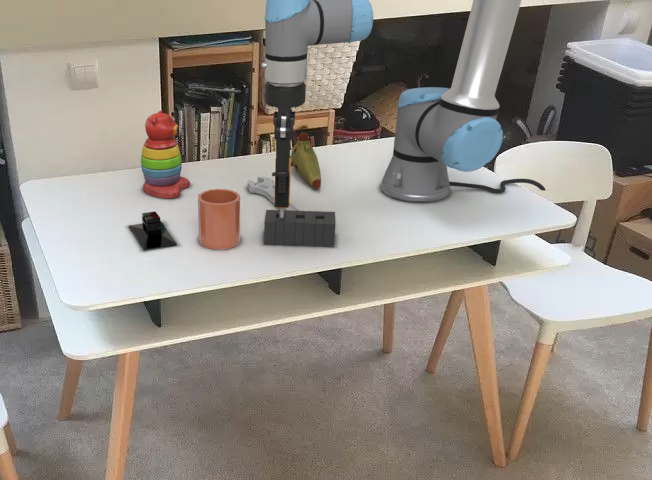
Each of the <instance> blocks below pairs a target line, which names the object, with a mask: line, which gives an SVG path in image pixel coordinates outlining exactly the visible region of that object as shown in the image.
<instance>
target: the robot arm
mask: <svg viewBox="0 0 652 480" xmlns="http://www.w3.org/2000/svg"><path fill="white" fill-rule="evenodd" d="M521 4H522V0H472V4H471V7H470V12H469V16H468V19H467V24H466V29H465V31H464V35H463V39H462V43H461V48H460V52H459V55H458V59H457V64H456V67H455V71H454V74H453V79H452V83H451V87H439V86H438V87H437V86H432V87H429V86H428V87H415V88H409V89H406V90H404V91H402V92H401V94H400V96H399V98H398V104H397V107H396V110H397V114H396V122H395V133H394V141H393V151H392V157H391V158H390V161H389V163H388V166H387V168H386V170H385V172H384V174H383V176H382V179H381V184H380V185H381V186H380V189H381V192H383V194H385V195H386V196H387V197H390V198H392V199H395V200H399V201H402V202H408V203H432V202H438V201H441V200H443V199H445V198H447V197H448V195H449V193H450V187H459V188H469V189H477V190H478V189H479V190H484V191H486V192H490V193H493V194H501V193H504V192H505V191H506V185H510V184H530V185H533V186H535V187H537V188H538V189H539V191H546V188H545V186H544V185H543V184H542V183H540V182H538V181H536V180H534V179H530V178H511V179H504V180H501V182H500V183H499V187H500V188H495V187H491V186H488V185H484V184H478V183H468V182H457V181H450V179H449V173H448V168H450V169H454V170H456V171H459V172H461V173H468V172H469V173H470V172H474V171H477V170H480V169H482V168H483V167H485V165H486V164H489V163H490V162H491V161H492V160H493V159H494V158H495V157H496V155H498V152H499V151H500V149H501V147H502V143H503V138H504V131H503V129H502V126H501V124H500V122H499V121H497V117H498V114H499V110H500V103H499V101H498V100H497V98H496V92H497V88H498V84H499V81H500V77H501V74H502V72H503V71H502V70H503V67H504V63H505V61H506V56H507V53H508V50H509V46H510V43H511V39H512V35H513V32H514V28H515V25H516V21H517V17H518V14H519V11H520V7H521ZM373 10H374V9H373V6H372V4H371V2H370V0H266V1H265V13H264V21H265V22H264V26H265V27H264V29H265V31H264V32H265V33H264V34H265V35H264V36H265V39H264V41H265V42H264V43H265V48H264V49H265V51H264V52H265V53H264V55H265V56H264V57H265V58H264V60H265V62H262V63H261V68H262V69H265V70H264V79H265V81H266V82H265V83H264V98H263V99H264V104H266V105H267V107H268V106H269V107H270V108H271V107H272V108H276V109H277V111H274V112H273V116H272V117H273V120H272V121H273V122H272V124H273V126H274V132H273V133H274V134H273V139H274V140H275V159H276V171H275V170H274V171H273V172H271V176H272V177H274V190H275V206H274V208H277V207H285V208H289V179H290V180H291V177H290V172H289V158H291V143H292V142H291V141H292V140H293V138H294V127H295V124H296V111H293V108H300V107H301V106H303V105H304V104H305V103H306V96H307V95H306V92H307V84H306V83H305V81H306V80H307V79H308V76H307V75H308V74H307V73H308V48H309V46H312V47H313V46H320V45H333V44H334V45H335V44H345V43H347V44H352V43H355V42H360V41H364V40H366V39H367V38H368V37H369V35H370V34H371V33H372V29H373V26H374V25H373V24H374V11H373ZM293 164H294V162H291V168H294V167H293Z"/></svg>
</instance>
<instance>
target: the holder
mask: <svg viewBox="0 0 652 480" xmlns="http://www.w3.org/2000/svg"><path fill="white" fill-rule="evenodd" d="M279 213H280V209H266V210H265V215H264V224H263V225H264V227H263V245H267V246H293V247H294V246H295V247H319V248H320V247H323V248H334V247H335V238H336V225H337V223H336V221H337V220H336V211H318V210H300V211H293V210H284V218H279Z"/></svg>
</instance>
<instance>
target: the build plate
mask: <svg viewBox="0 0 652 480" xmlns="http://www.w3.org/2000/svg"><path fill="white" fill-rule="evenodd" d="M128 229H129V230H130V232H131V233H132V235H133V237H134V238H135V240H136V242H137V243H138V245H139V246H140V248H141V249H142V251H143V252H147V251H152V250H157V249H158V250H159V249H166V248H171V247H177V246H178V243H177V242H176V240H175V239H174V238H173V236H172V234H171V233H170V232H169V230H168V229H167V228H166V225H165V224H164V223H163V222H162V221H161V217H160V215H159V214H158V213H157V211H148V212H142V213H141V223H137V224H129V225H128Z"/></svg>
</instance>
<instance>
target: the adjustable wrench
mask: <svg viewBox="0 0 652 480" xmlns="http://www.w3.org/2000/svg"><path fill="white" fill-rule="evenodd" d="M247 190H248V191H249V193H251V194H257V195H262V196H264V197H265V198H267V199H268V200H269V201H270V202H271V203H272V204H273V205H274V200H275V187H274V179H272V178H271V177H268V176H267V177H266V176H257V181H253V180H250V179H248V180H247ZM278 210H280V208H278ZM284 210H293V211H301V210H300V209H299V208H298V207H297V206H296V205H294V204H293V203H292V202H290V206H289V208H284Z"/></svg>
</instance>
